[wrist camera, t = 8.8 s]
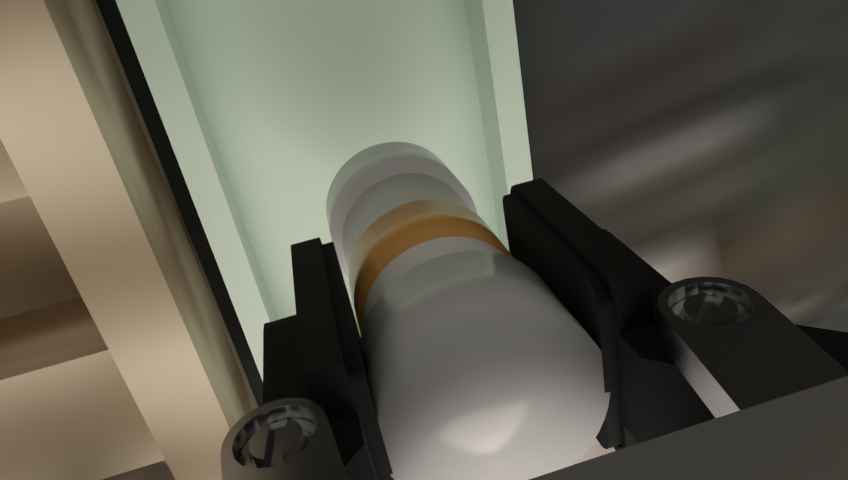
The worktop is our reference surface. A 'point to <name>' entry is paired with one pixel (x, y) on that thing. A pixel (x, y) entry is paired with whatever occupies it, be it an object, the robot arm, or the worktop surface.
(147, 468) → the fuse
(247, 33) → the tray
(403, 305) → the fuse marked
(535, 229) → the robot arm
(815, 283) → the worktop surface
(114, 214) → the fuse block
